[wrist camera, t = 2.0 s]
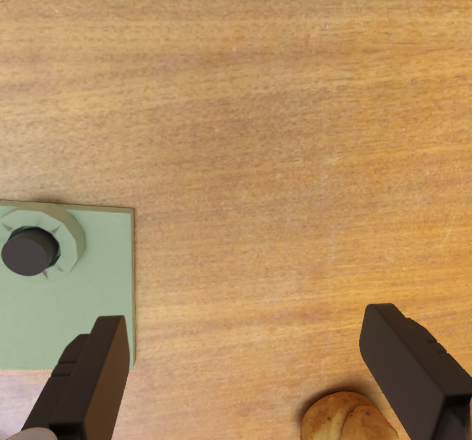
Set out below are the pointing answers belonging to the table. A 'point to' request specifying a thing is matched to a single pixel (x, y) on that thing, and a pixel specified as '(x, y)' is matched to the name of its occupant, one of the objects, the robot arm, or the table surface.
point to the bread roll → (346, 419)
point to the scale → (65, 280)
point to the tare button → (29, 252)
